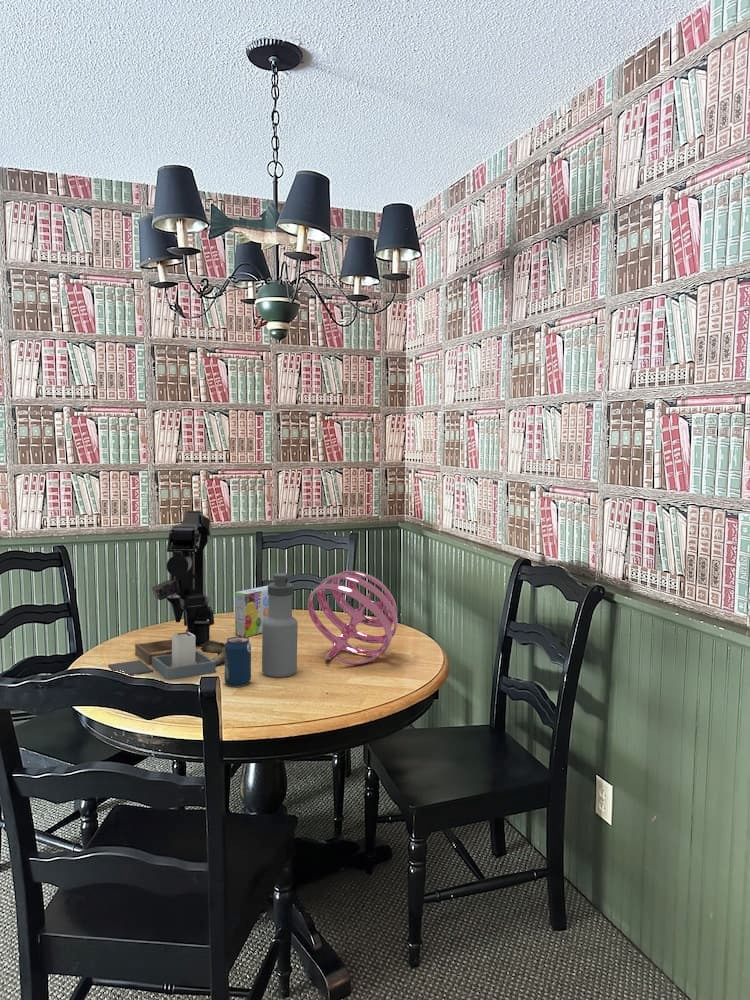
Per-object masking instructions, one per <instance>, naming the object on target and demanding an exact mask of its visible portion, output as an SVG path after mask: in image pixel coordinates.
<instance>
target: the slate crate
mask: <svg viewBox="0 0 750 1000" xmlns="http://www.w3.org/2000/svg"><path fill="white" fill-rule="evenodd" d="M212 659H213V658H211V657H209V656H207V655H206V654H204V652H201V651H199V649H198V650H195V661H197V662H196V663H195V664H192V665H185V666H179V667H172V654H169V655H162V656H155V657H152V665H151V668H152V667H153V668H154V669H153V670H155V671H156V672H157V673H158V672H159V673H158V674H160V675H161V676H162V677H163V678H165V680H168V681H169V680H176V679H182V678H183V679H184V678H188V677H189V678H191V677H195V676H201V674H202V675H207V674H208V675H209V674H214V673H216V671H217V665H216V662H215V661H214V660H212ZM170 666H171V667H170ZM213 672H214V673H213Z"/></svg>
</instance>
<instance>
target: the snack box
mask: <svg viewBox="0 0 750 1000" xmlns="http://www.w3.org/2000/svg"><path fill="white" fill-rule="evenodd" d="M234 596H235V597H234V605H235V607H234V609H235V610H234V611H235V612H234V614H235V617H234V618H235V620H234V621H235V623H234V624H235V628H234V629H235V636H237V635H240V636H239V637H242V636H243V637H247V638H249V637H248V636H250V637H252V636H251V635H253V636H256V635H255V634H257V635H260V634H259V633H261V634H262V625H263V621H264V619H265V618H267V617H268V610H269V596H268V585H265V586H258V587H253V588H250V589H244V590H239V591H235V592H234Z"/></svg>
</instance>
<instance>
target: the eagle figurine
mask: <svg viewBox="0 0 750 1000" xmlns="http://www.w3.org/2000/svg"><path fill="white" fill-rule="evenodd" d="M226 642H227V641H226ZM226 642H219V641H214V640H210V641H208V642H206V643H204V644H203V645H201V647H200V648H199V649H200V650H201V651H202V652H201V653H206V654H208V653H209V654H217V655H216V656H215V657H213V658H211V659H212V660H214V661H215V662H216V666H218V665H219V664H220V663H222V662H225V644H226Z"/></svg>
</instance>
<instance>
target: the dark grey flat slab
mask: <svg viewBox="0 0 750 1000" xmlns="http://www.w3.org/2000/svg"><path fill="white" fill-rule="evenodd" d="M107 666H108V668H110V669H111V670H112V671H113V670H114V671H118V672H121V673H125V674H128V675H132V676H135V675H134V674H139V675H145V674H150V672H152V673H153V672H154V669H152V667H151V668H150V667H149V666H148V664H147V663H145V662H144V661H143V660H142V659H141V660H140V659H138V660H131V661H125V662H124V661H123V662H117V663H111V664H108V665H107ZM120 670H121V671H120ZM114 671H113V672H114ZM122 671H124V672H122ZM144 673H145V674H144Z"/></svg>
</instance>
